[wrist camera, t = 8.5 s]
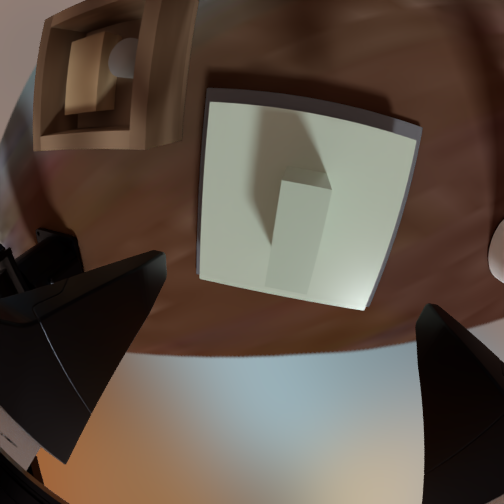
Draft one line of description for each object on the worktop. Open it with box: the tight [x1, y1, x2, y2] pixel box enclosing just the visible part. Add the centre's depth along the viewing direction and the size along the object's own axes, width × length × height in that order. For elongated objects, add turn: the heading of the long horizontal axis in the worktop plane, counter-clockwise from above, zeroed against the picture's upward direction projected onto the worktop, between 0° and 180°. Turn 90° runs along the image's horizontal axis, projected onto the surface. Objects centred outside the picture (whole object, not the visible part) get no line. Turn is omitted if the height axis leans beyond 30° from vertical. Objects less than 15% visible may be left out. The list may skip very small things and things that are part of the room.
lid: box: [200, 102, 416, 311], centre depth 14 cm, size 11×11×6 cm
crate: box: [33, 0, 199, 151], centre depth 13 cm, size 10×10×4 cm
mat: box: [196, 88, 422, 307], centre depth 17 cm, size 13×13×1 cm
